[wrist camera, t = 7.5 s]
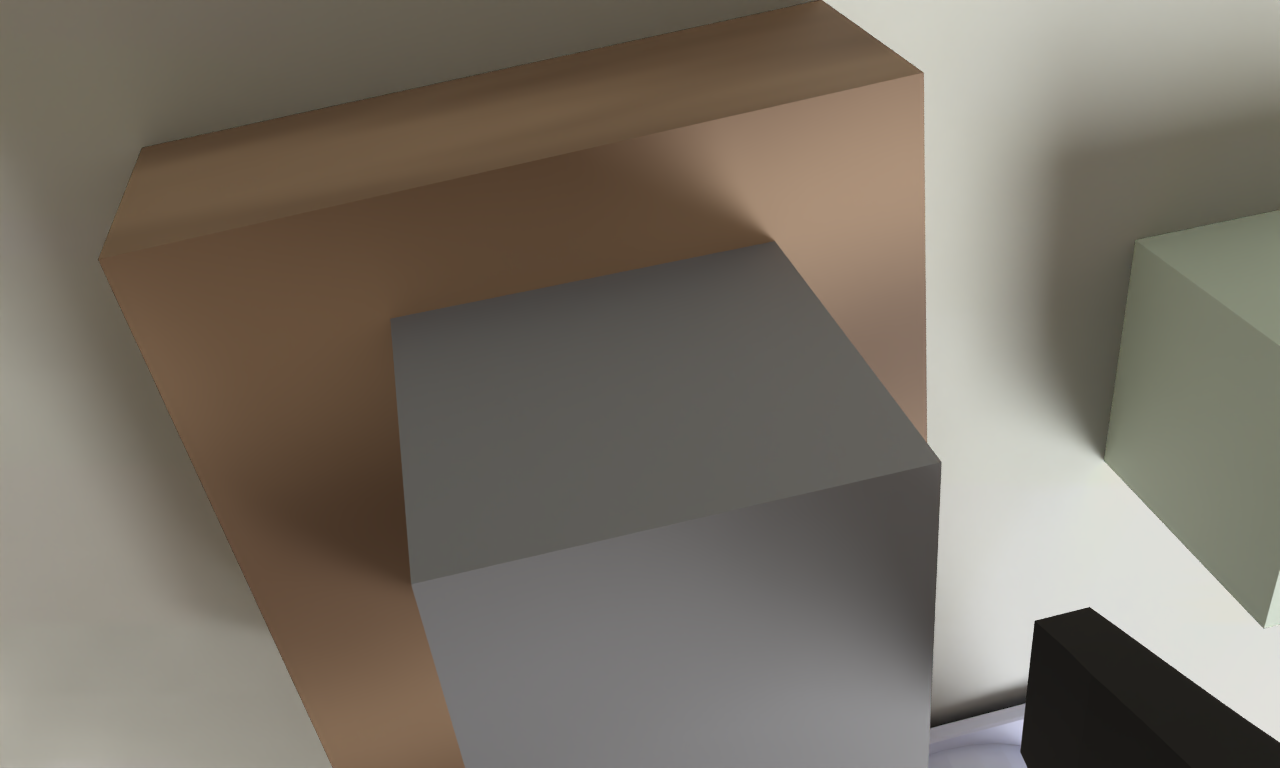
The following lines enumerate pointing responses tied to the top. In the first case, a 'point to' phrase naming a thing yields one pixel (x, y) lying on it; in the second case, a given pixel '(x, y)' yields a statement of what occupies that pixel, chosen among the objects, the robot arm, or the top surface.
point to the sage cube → (1207, 399)
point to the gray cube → (668, 525)
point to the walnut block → (484, 288)
